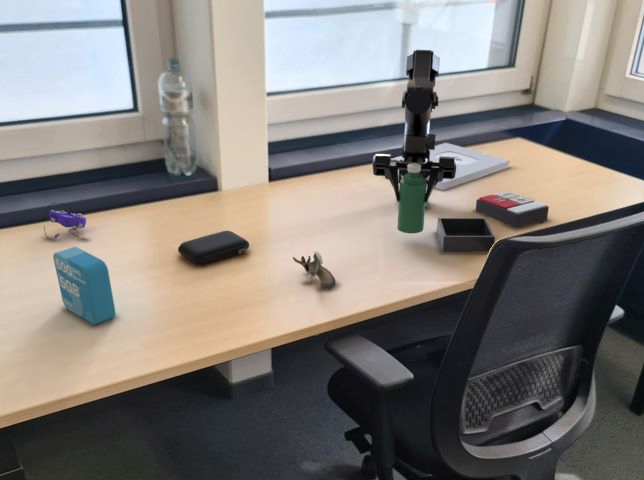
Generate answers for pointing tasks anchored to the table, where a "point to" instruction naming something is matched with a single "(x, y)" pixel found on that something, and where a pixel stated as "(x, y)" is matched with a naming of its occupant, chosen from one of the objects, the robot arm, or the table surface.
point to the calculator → (512, 209)
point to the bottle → (412, 200)
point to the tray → (465, 234)
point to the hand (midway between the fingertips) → (411, 201)
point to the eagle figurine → (317, 271)
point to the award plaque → (465, 164)
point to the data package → (84, 285)
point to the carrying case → (213, 247)
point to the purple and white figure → (67, 220)
